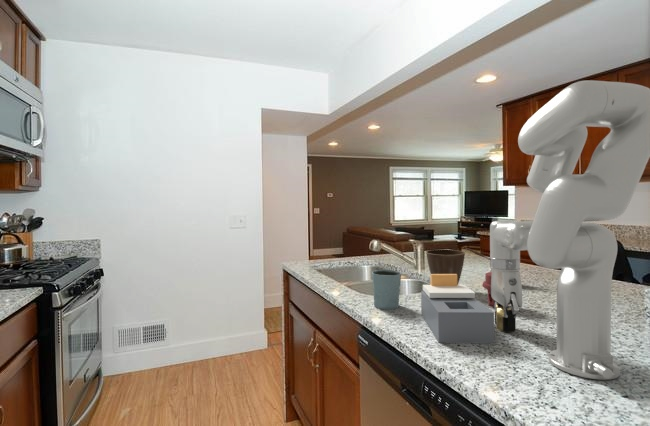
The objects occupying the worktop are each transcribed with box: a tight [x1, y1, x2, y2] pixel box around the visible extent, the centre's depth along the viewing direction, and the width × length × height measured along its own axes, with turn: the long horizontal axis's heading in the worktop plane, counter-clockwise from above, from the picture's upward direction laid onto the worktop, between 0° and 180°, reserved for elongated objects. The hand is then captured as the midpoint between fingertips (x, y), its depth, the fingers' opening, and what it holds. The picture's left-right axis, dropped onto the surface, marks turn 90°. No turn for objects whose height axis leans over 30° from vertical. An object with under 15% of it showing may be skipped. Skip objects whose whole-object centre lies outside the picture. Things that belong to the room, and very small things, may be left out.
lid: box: [422, 273, 476, 298], centre depth 106 cm, size 10×13×5 cm
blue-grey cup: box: [371, 269, 402, 311], centre depth 123 cm, size 10×10×12 cm
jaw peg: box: [495, 306, 511, 333], centre depth 98 cm, size 4×4×6 cm
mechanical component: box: [482, 271, 511, 308], centre depth 119 cm, size 12×10×10 cm
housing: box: [420, 290, 495, 344], centre depth 100 cm, size 22×14×8 cm, turn 176°
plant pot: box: [425, 248, 466, 285], centre depth 141 cm, size 15×15×16 cm
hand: (504, 327), depth 99 cm, fingers closed on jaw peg, 4 cm apart
